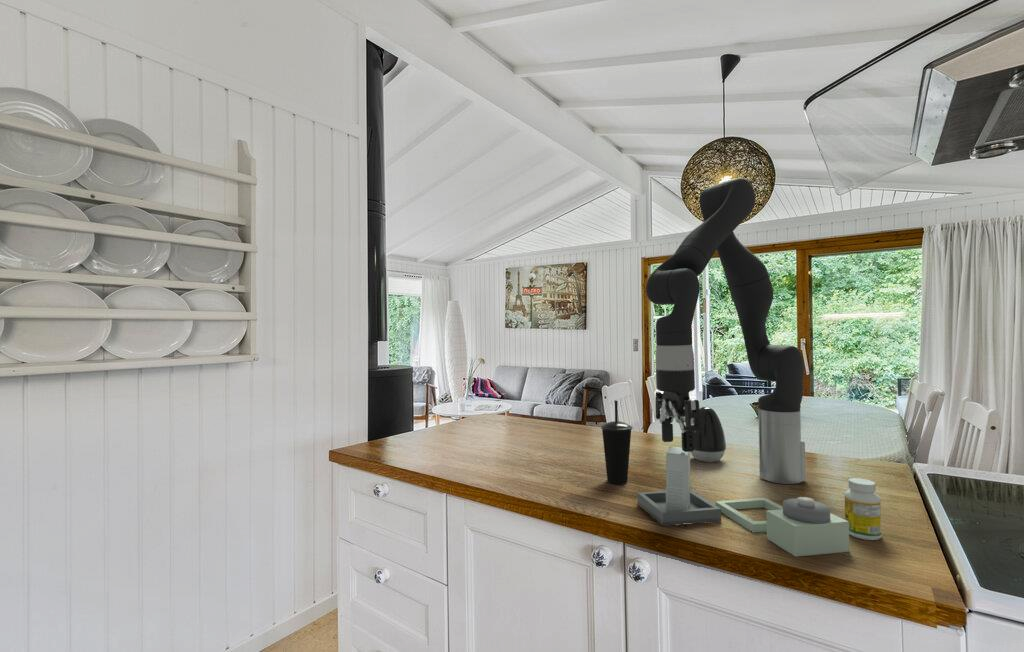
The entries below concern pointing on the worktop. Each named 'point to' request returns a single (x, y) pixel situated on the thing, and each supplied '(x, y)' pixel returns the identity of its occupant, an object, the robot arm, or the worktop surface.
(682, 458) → the skincare box
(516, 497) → the worktop surface
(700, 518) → the tray
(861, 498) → the supplement bottle
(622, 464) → the drinking cup
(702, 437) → the pump dispenser
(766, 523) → the soap dish box
